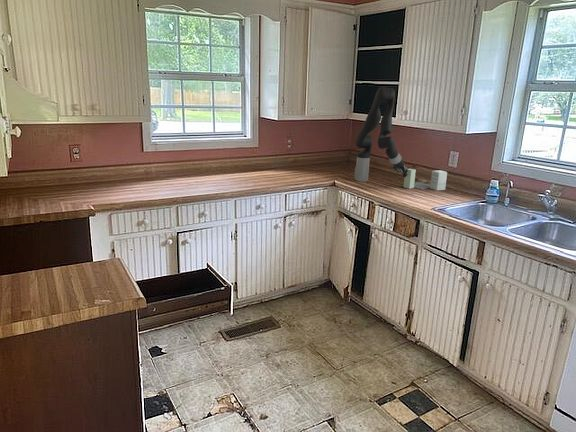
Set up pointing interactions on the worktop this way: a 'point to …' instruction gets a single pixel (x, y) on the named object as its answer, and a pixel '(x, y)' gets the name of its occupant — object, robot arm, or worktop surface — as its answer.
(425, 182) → the rail
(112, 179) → the worktop surface
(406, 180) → the block
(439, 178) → the supplement box
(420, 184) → the mat
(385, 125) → the robot arm
